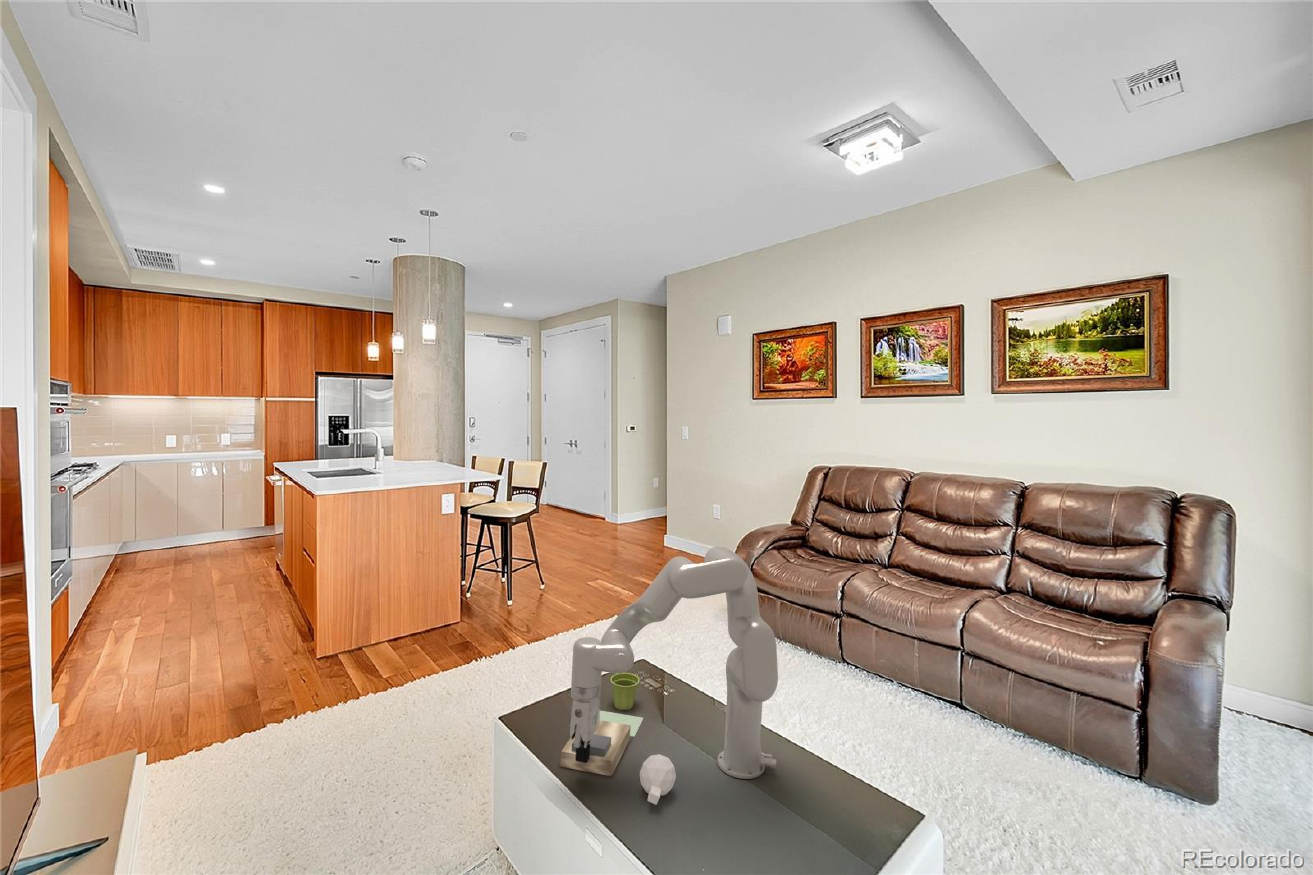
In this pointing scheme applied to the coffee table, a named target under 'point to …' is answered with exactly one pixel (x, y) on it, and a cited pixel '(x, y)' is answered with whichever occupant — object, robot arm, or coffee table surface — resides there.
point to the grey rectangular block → (597, 745)
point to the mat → (622, 720)
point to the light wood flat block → (598, 763)
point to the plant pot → (624, 690)
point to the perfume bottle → (657, 776)
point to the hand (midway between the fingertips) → (582, 760)
